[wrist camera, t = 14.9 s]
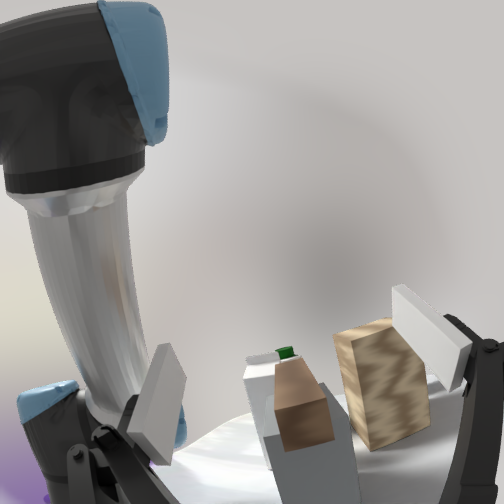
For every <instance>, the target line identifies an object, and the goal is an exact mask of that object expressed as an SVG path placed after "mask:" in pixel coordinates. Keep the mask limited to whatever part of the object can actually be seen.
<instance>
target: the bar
mask: <svg viewBox="0 0 504 504" xmlns="http://www.w3.org/2000/svg"><path fill="white" fill-rule="evenodd" d="M274 413H275V416H276V420H277V424H278V428H279V432H280V436H281V440H282V443H283V447H284V451H285V452H290V451H294V450H299V449H303V448H307V447H311V446H315V445H319V444H323V443H326V442H330V441H333V440H335V437H334V432H333V427H332V422H331V417H330V412H329V407H328V402H327V398H326V396H325V394H324V393H323V391H322V389H321V388H320V386H319V384H318V383H317V381H316V379H315V378H314V376H313V375H312V373H311V371H310V370H309V368H308V366H307V365H306V363H305V361H304V360H303V358H299V359H295V360H291V361H287V362H283V363H279V364H275V386H274Z"/></svg>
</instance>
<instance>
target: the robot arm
mask: <svg viewBox="0 0 504 504" xmlns="http://www.w3.org/2000/svg"><path fill="white" fill-rule="evenodd" d="M168 107H169V61H168V45H167V35H166V29H165V25H164V21H163V18H162V16H161V14H160V12H159V11H158V10H157V9H156V8H155V7H154V6H153V5H151V4H148V3H145V2H106V1H104V0H98V1H97V3H89V4H81V5H75V6H68V7H63V8H58V9H53V10H48V11H44V12H40V13H36V14H32V15H28V16H25V17H21V18H18V19H14V20H11V21H8V22H5V23H2V24H0V165H2V164H3V170H4V178H5V186H6V193H7V195H8V196H9V197H11V198H12V199H14V200H15V201H16V202H18V203H19V204H21V205H22V206H24V207H25V209H26V210H27V213H28V219H29V224H30V229H31V234H32V239H33V243H34V248H35V252H36V255H37V260H38V263H39V267H40V270H41V274H42V277H43V281H44V284H45V287H46V290H47V294H48V297H49V299H50V302H51V305H52V308H53V311H54V313H55V316H56V319H57V321H58V324H59V327H60V329H61V332H62V334H63V336H64V339H65V341H66V343H67V346H68V348H69V350H70V352H71V355H72V357H73V359H74V361H75V363H76V365H77V367H78V369H79V371H80V373H81V375H82V377H83V379H84V381H85V383H86V389H79V385H78V384H77V382H76V381H75V380H69V381H62V382H58V383H53V384H50V385H45V386H42V387H38V388H34V389H31V390H28V391H25V392H23V393H21V394H20V395H19V396H18V398H17V408H18V412H19V416H20V420H21V424H22V426H23V428H24V431H25V434H26V436H27V439H28V442H29V444H30V446H31V449H32V451H33V454H34V456H35V458H36V460H37V462H38V465H39V467H40V469H41V471H42V473H43V475H44V477H45V480H46V484H47V489H48V493H49V497H50V501H51V504H180V503H179V502H178V500H177V499H176V498H175V497H174V496H173V495H172V493H171V492H170V491H169V490H168V489H167V487H166V486H165V485H164V484H163V482H162V481H161V480H160V479H159V477H158V476H157V475H156V473H155V472H154V471H153V469H152V468H151V467H150V466H149V463H150V459H151V461H152V462H153V463H154V464H155V465H168V466H171V461H172V454H173V449H174V448H178V447H181V446H182V445H183V444H184V443H185V442H186V438H187V427H186V422H185V419H184V410H183V406H182V399H183V394H184V388H185V383H186V378H187V377H186V375H185V373H184V371H183V369H182V367H181V365H180V363H179V361H178V359H177V357H176V355H175V353H174V351H173V348H172V346H171V344H170V343H167V344H161V345H158V347H157V349H156V352H155V354H154V357H153V359H152V362H151V365H150V363H149V359H148V354H147V349H146V345H145V340H144V335H143V330H142V325H141V320H140V314H139V308H138V302H137V296H136V289H135V282H134V275H133V267H132V259H131V250H130V240H129V229H128V215H127V198H126V191H127V189H128V187H129V186H130V185H131V184H132V183H133V181H134V180H135V179H136V178H137V177H138V176H139V175H140V174H141V173H142V172H143V171H144V166H145V146H146V145H149V146H154V145H155V144H158V143H160V142H162V141H163V140H164V138H165V136H166V132H167V113H168V109H169V108H168ZM392 326H393V327H394V328H395V329H396V331H397V332H398V333H399V334H400V335H401V336H402V337H403V338H404V340H405V341H406V342H407V343H408V344H409V345H410V347H411V348H412V349H413V350H414V351H415V352H416V354H417V355H418V356H419V357H420V358H421V359H422V361H423V362H424V363H425V364H426V365H427V366H428V368H429V369H430V370H431V371H432V373H433V374H434V375H435V376H436V377H437V379H438V380H439V381H440V382H441V384H442V385H443V386H444V387H445V389H446V390H447V391H448V392H451V391H453V390H454V389H456V388H458V387H459V386H461V383H462V380H463V377H464V378H465V379H466V381H467V384H466V387H465V390H464V393H463V395H462V396H463V397H464V396H465V397H464V405H463V412H462V418H461V424H460V429H459V434H458V439H457V444H456V448H455V452H454V456H453V460H452V464H451V467H450V471H449V474H448V478H447V481H446V484H445V487H444V490H443V493H442V496H441V499H440V501H439V504H495V502H496V498H497V493H498V486H497V485H496V484H495V477H496V472H497V466H498V460H499V453H500V445H501V436H502V424H503V400H504V342H502V343H498V342H497V341H495V340H494V339H484V340H483V339H482V338H480V337H479V336H478V335H477V334H475V333H474V332H473V331H472V330H471V329H470V328H469V327H466V325H465V324H464V323H462V322H461V321H460V320H459V319H458V318H457V317H455V316H452V315H450V314H446V315H444V316H442V315H441V314H440V313H438V312H437V311H436V310H435V309H434V308H433V307H431V306H430V305H429V304H428V303H426V302H425V301H424V300H423V299H422V298H420V297H419V296H418V295H417V294H415V293H414V292H413V291H411V290H410V289H409V288H408V287H407V286H405V285H404V284H403V283H402V284H400V285H396V286H393V287H392Z"/></svg>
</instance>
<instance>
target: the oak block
mask: <svg viewBox="0 0 504 504" xmlns="http://www.w3.org/2000/svg"><path fill="white" fill-rule="evenodd" d="M333 339H334V344H335V348H336V352H337V357H338V361H339V366H340V371H341V375H342V380H343V385H344V390H345V395H346V400H347V406H348V411H349V416H350V422H351V425H352V427H353V428H354V430H355V431H356V432H357V434H358V435H359V436H360V438H361V439H362V441H363V442H364V443H365V445H366V446H367V448H368V449H369V450H370V452H371V451H374V450H376V449H379V448H381V447H384V446H386V445H389V444H391V443H393V442H396V441H398V440H400V439H403V438H405V437H407V436H409V435H411V434H413V433H416V432H418V431H420V430H422V429H424V428H426V427H428V426H430V410H429V399H428V389H427V380H426V373H425V366H424V362H423V361H422V359H421V358H420V357H419V356H418V355H417V354H416V352H415V351H414V350H413V349H412V348H411V347H410V345H409V344H408V343H407V342H406V341H405V340H404V338H403V337H402V336H401V335H400V334H399V333H398V332H397V331H396V329H395V328H394V327H393V326H392V318H383V319H380V320H377V321H375V322H371V323H368V324H365V325H362V326H359V327H356V328H353V329H350V330H347V331H344V332H340V333H337V334H334V335H333Z"/></svg>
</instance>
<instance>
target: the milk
mask: <svg viewBox="0 0 504 504" xmlns="http://www.w3.org/2000/svg"><path fill="white" fill-rule="evenodd" d="M246 361H247V369H246V372H245V375H244V377H243V381H244V385H245V388H246V392H247V396H248V400H249V404H250V407H251V411H252V415H253V418H254V422H255V426H256V429H257V433H258V436H259V440H260V443H261V447H262V450H263V454H264V457H265V461H266V464H267V467H268V470H272V467H271V464H270V460H269V457H268V453H267V450H266V446H265V443H264V439H263V431H264V421H265V411H266V400H267V396H271V395H274V386H275V364H279V363H283V362H282V361H281V360H280V357H279V353H278V352H271V353H266V354H260V355H255V356H249V357H246Z"/></svg>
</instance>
